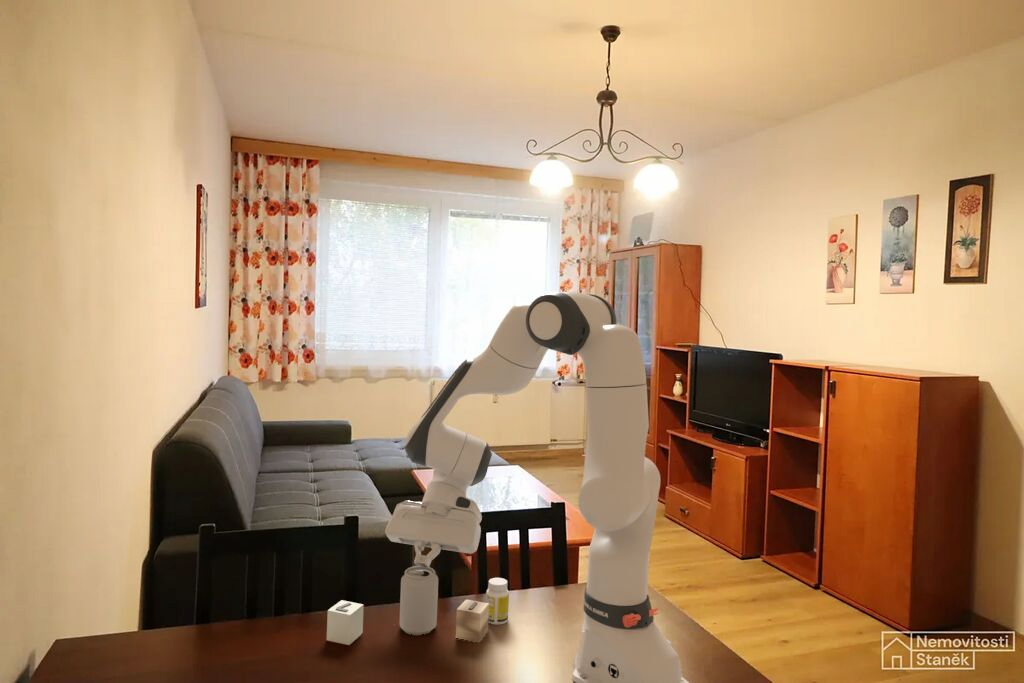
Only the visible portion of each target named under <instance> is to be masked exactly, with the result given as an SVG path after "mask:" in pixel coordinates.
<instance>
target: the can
mask: <svg viewBox="0 0 1024 683" xmlns="http://www.w3.org/2000/svg"><path fill="white" fill-rule="evenodd" d="M438 590H439V577H438V575H437V574H436V571H435V569H434V568H432V567H430V566H429V568H428V567H423V566H416V565H414V566H410V567H408V568H407V569H405V570H404V575H402V577H401V579H400V599H399V602H400V603H399V604H400V606H399V624H398V625H399V627H400V628H401V630H402V631H403V632H405V633H406V634H408V635H411V634H412V636H421V635H422V634H424V635H427V634H429V633H431V631H433V629H435V628H436V627H437V624H438V623H437V622H438V621H437V619H438V594H439V593H438ZM426 633H427V634H426ZM422 636H423V635H422Z"/></svg>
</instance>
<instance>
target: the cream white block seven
mask: <svg viewBox="0 0 1024 683" xmlns="http://www.w3.org/2000/svg"><path fill="white" fill-rule="evenodd" d="M364 606H365V605H364V604H362V603H357V602H353V601H347V600H344V599H343V600H342V599H341V600H340V601H338V602H337V603H336V604H333V606H331V607H330V608H329V609H328V610H327V618H326V619H327V620H326V621H327V622H326V641H329V642H333V643H336V644H337V643H338V644H342V645H348V646H350V645H351V644H353V642H355V640H357V639H358V638H359V637H361V636H362V635H363V634H362V633H363V632H364V631H363V630H364V627H363V626H364ZM361 634H362V635H361Z"/></svg>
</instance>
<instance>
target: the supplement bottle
mask: <svg viewBox="0 0 1024 683" xmlns="http://www.w3.org/2000/svg"><path fill="white" fill-rule="evenodd" d="M485 593H486V594H485V597H486V598H485V603H489V615H488V624H490V623H491V625H494V626H495V625H496V626H497V625H504V624H506V623H507V622H508V620H509V601H510V600H509V599H510V598H509V595H510V591H509V590H508V580H507V579H505V578H502V577H493V578H490V579H489V580H488V586H487V589H486V592H485Z"/></svg>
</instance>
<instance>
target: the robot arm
mask: <svg viewBox="0 0 1024 683" xmlns="http://www.w3.org/2000/svg"><path fill="white" fill-rule="evenodd" d="M549 350H551V351H555V352H559V353H563V354H565V355H568V356H573V355H575V354H577V355H578V356H580V358H581V359H582V361H583V362H582V363H583V364H584V370H585V371H584V372H585V386H586V387H585V392H586V395H585V396H586V411H587V437H586V438H587V440H586V446H585V448H586V449H585V455H584V462H583V463H584V465H583V477H582V483H581V487H580V490H579V493H578V509H579V511H580V514H581V516H582V518H583V519H584V521H586V522H587V523H588V525H590V526H591V527H592V528H594V530H593V531H594V532H593V535H592V538H591V541H590V545H589V547H588V559H587V560H588V562H587V583H586V588H584V592H583V593H584V594H583V611H584V618H583V619H584V620H583V623H582V628H581V632H580V639H579V645H578V650H577V653H576V656H575V658H574V659H575V660H574V661H573V662H574V664H573V665H574V669H573V672H572V679H571V680H572V681H573V682H574V683H690V682H689V681H688V680H687V679H685V677H683V675H682V667H681V660H680V657H679V654H678V653H677V651H676V650H675V649H674V646H673V643H672V642H671V641H670V640H668V639H667V638H666V637H665V635H664V633H663V632H662V631H661V629H660V628H659V626H658V625H657V624H656V623H655V621H654V619H655V617H654V616H656V615H658V614H659V612H657V611H658V610H659V607H655V608H652V604H651V599H650V596H649V594H648V587H649V586H648V585H649V584H648V582H649V567H650V555H651V549H652V548H651V546H652V542H653V536H654V530H655V523H656V519H657V518H656V515H657V510H658V501H659V495H660V494H659V493H660V489H661V474H660V473H661V472H660V471H659V469H658V467H657V465H656V464H655V463H654V462H653V461H652V460H651V459H650V458H648V457H646V449H647V448H646V447H647V439H648V438H647V437H648V432H649V430H650V423H649V421H650V420H649V405H648V389H647V385H648V384H647V374H646V372H647V371H646V366H645V359H644V355H643V350H642V346H641V341H640V339H639V336H638V334H637V333H636V331H635V330H633V329H632V328H631V327H628V326H626V325H622V324H617V315H616V312H615V309H614V308H613V306H612V304H611V303H610V302H609V301H607V300H606V299H605V298H602V297H601V296H599V295H596V294H587V293H582V292H579V291H550V292H546V293H544V294H541V295H540V296H538V297H537V298H536V299H534V300H533V301H521V302H518V303H515V304H514V305H513V306H512V307H511V308H510V310H508V312H507V313H506V315H505V316H504V318H503V319H502V321H501V322H500V324H499V325H498V327H497V329H496V330H495V331H494V334H493V336H492V338H491V340H490V341H489V343H488V346H487V347H486V348H485V350H484V351H483V352H482V353H481V354H479V355H478V356H476V357H474V358H467V359H465V360H464V361H462V362H461V364H460V365H459V366H458V367H457V369H455V371H454V372H453V373H452V375H451V376H450V377H449V378H448V380H446V382H445V384H444V385H443V387H442V388H441V389H440V391H439V392H438V393H437V395H436V397H435V398H434V399H433V401H432V402H431V403H430V405H429V406H428V408H427V409H426V410H425V412H424V413H423V414H422V415H421V417H420V418H419V419H418V420H417V421H416V422H415V423H414V424H413V426H412V427H411V428H410V430H409V431H408V434H407V435H406V438H405V441H404V451H405V453H406V454H407V457H408V459H409V460H410V462H411V463H413V464H416V465H420V466H423V467H428V468H430V469H433V475H432V479H431V481H430V482H429V483H428V484H427V488H426V490H425V493H424V494H423V498H422V501H412V500H404V501H401V502H400V503H397V504H396V506H395V508H394V510H393V513H392V515H391V517H390V519H389V521H388V523H387V524H386V527H385V529H384V530H385V531H384V532H385V536H386V537H387V538H388V540H389V541H390V542H392V543H399V544H406V545H412V546H414V550H415V557H414V560H413V564H414V566H423V567H428V568H429V567H430V566H431V563H432V561H433V560H434V559H435V558H436V557H438V555H440V553H441V550H444V551H445V550H446V551H451V552H457V553H464V554H470V555H471V554H474V553H475V552H476V551H477V550H478V547H479V543H480V539H481V535H482V534H481V532H482V530H481V529H482V528H481V525H480V523H482V522H481V521H482V518H483V516H482V512H481V510H480V509H479V506H478V504H477V503H476V502H475V501H474V500H472V499H470V498H468V497H467V490H468V488H469V487H473V486H475V485H478V484H479V483H482V482H483V481H484V479H485V478H486V476H487V473H488V469H489V466H490V462H491V459H492V456H493V453H492V451H491V447H490V445H489V444H488V442H487V441H486V440H483V439H481V438H480V437H477V436H475V435H472V434H469V433H467V432H464V431H463V430H460V429H457V428H455V427H453V426H450V425H448V424H446V423H445V422H444V421H445V420H446V418H447V416H448V415H449V414H450V413H451V411H452V410H453V408H454V407H455V406H456V404H457V403H458V401H460V400H461V399H462V398H463V397H467V396H469V395H482V394H483V395H495V396H505V395H512V394H516V393H518V392H520V391H522V390H524V389H525V388H526V387H528V385H529V384H530V382H531V381H532V380H533V379H534V377H535V375H536V373H537V371H538V369H539V367H540V365H541V364H542V361H543V359H544V358H545V356H546V353H547V352H548V351H549ZM425 548H430V549H431V550H430V551H429V552H428V553H427V554H426V555H424V554H422V553H421V552H423V551H424V550H425Z"/></svg>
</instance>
